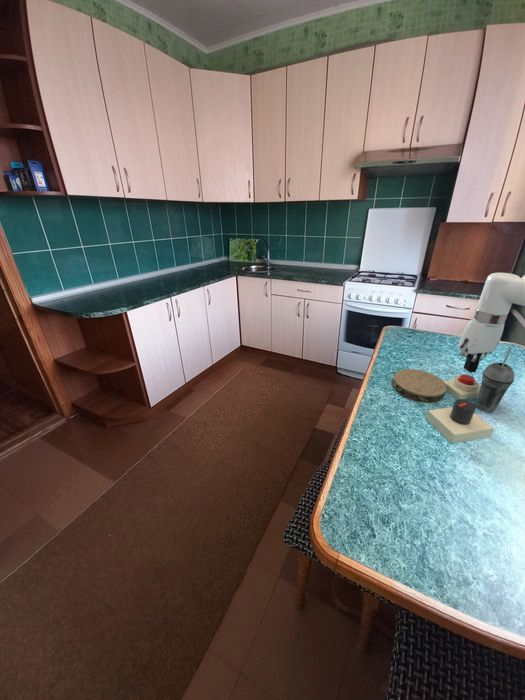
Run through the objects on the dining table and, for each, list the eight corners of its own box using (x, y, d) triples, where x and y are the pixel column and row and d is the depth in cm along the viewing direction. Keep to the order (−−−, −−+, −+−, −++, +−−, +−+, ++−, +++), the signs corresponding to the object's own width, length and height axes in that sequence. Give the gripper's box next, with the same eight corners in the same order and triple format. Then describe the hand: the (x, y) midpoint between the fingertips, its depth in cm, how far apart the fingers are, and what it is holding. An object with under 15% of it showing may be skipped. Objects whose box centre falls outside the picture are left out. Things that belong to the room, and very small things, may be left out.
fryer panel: (461, 413, 87) (464, 404, 85) (490, 436, 78) (494, 427, 77) (425, 418, 85) (428, 410, 83) (451, 443, 76) (454, 434, 75)
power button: (466, 378, 97) (467, 373, 96) (476, 384, 93) (477, 380, 93) (455, 379, 96) (457, 375, 95) (465, 386, 93) (467, 381, 92)
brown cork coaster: (444, 409, 89) (447, 401, 87) (388, 394, 96) (390, 386, 94) (444, 383, 101) (446, 375, 99) (395, 372, 108) (396, 365, 106)
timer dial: (457, 411, 83) (463, 396, 80) (474, 421, 79) (480, 406, 76) (445, 415, 81) (451, 400, 79) (462, 426, 77) (468, 411, 75)
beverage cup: (466, 407, 89) (489, 349, 80) (475, 398, 93) (497, 342, 84) (495, 419, 84) (522, 359, 75) (502, 409, 88) (529, 350, 79)
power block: (465, 382, 101) (469, 373, 99) (485, 396, 94) (489, 386, 92) (440, 386, 99) (443, 376, 97) (458, 400, 92) (462, 390, 90)
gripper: (499, 310, 89) (479, 362, 97) (457, 314, 86) (440, 366, 95) (523, 319, 82) (499, 374, 91) (478, 323, 80) (457, 379, 88)
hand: (469, 370), depth 93 cm, fingers closed
